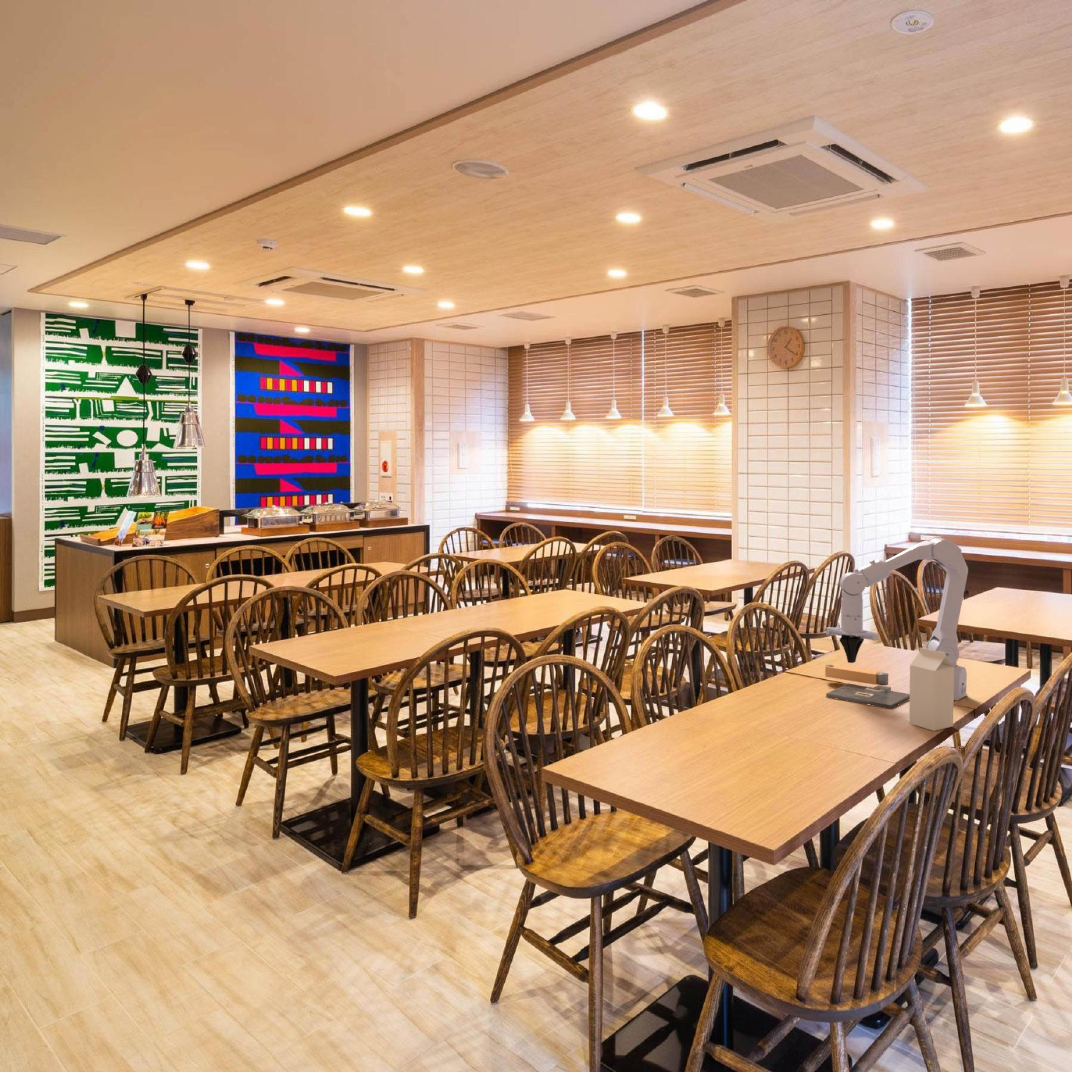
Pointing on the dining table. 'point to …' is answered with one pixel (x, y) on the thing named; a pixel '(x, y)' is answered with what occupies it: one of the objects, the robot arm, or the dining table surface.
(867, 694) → the server tray
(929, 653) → the milk carton
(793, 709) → the dining table surface
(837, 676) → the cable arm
